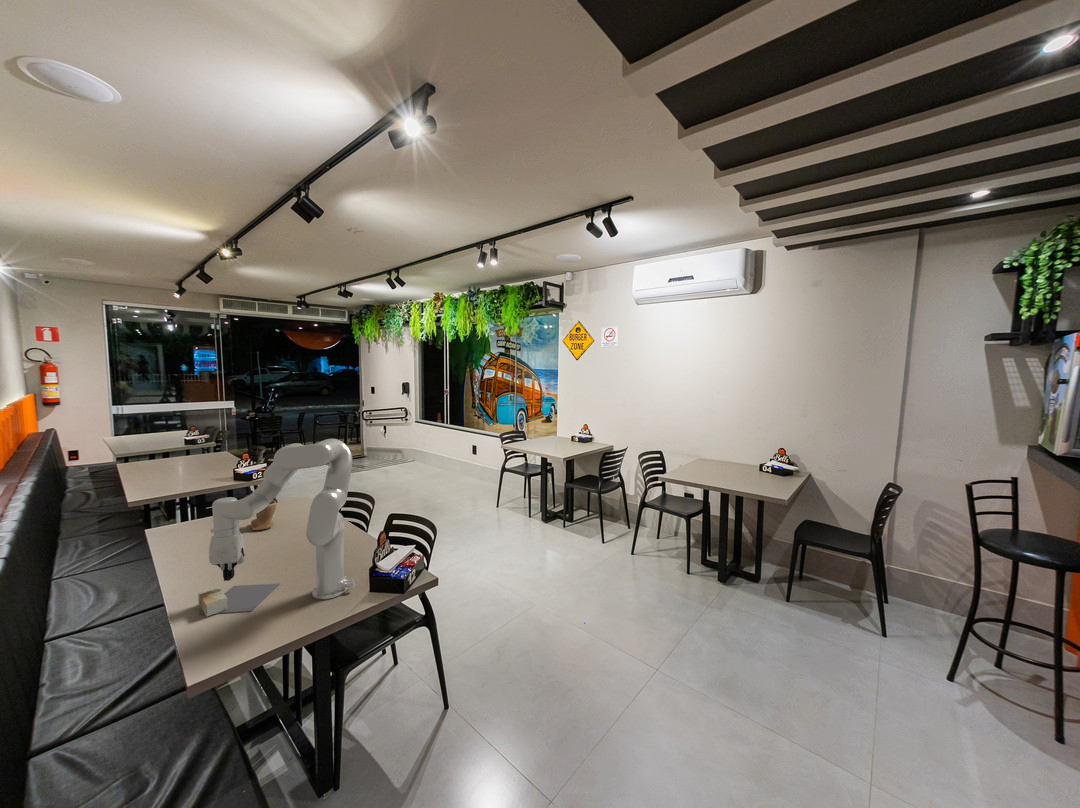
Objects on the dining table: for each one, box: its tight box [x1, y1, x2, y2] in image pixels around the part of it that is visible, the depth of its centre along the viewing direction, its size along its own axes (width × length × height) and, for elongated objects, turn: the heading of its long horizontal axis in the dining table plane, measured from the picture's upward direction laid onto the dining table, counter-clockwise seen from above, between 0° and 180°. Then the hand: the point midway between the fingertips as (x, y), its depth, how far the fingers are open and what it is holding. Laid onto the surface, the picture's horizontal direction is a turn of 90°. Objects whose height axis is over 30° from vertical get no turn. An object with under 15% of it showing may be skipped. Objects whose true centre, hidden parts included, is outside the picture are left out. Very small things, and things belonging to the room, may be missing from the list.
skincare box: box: [197, 586, 228, 617], centre depth 143 cm, size 6×4×12 cm
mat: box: [198, 583, 280, 616], centre depth 149 cm, size 17×19×1 cm
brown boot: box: [250, 499, 277, 531], centre depth 221 cm, size 15×12×15 cm
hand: (229, 578), depth 148 cm, fingers closed
